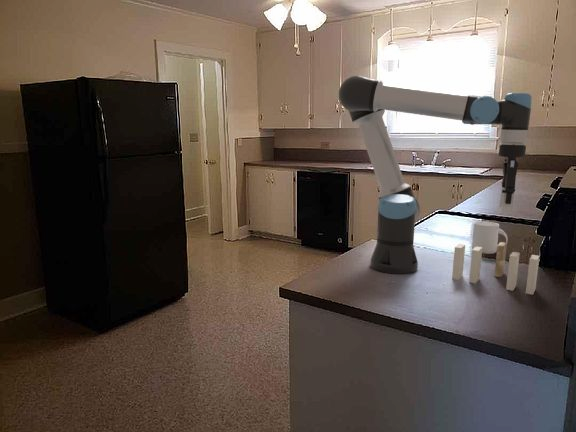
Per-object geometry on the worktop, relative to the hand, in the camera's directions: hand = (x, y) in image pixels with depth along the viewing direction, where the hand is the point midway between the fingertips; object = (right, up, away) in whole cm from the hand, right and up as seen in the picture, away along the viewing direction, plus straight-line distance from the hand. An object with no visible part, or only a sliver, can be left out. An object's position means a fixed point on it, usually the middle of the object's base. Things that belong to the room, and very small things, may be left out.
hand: (505, 210), depth 141 cm
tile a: (-18, -21, -7) cm, 28 cm away
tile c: (-6, -22, -16) cm, 28 cm away
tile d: (-2, -23, -18) cm, 30 cm away
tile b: (-14, -21, -10) cm, 27 cm away
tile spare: (-4, -20, -4) cm, 21 cm away
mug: (+5, -15, +22) cm, 27 cm away
